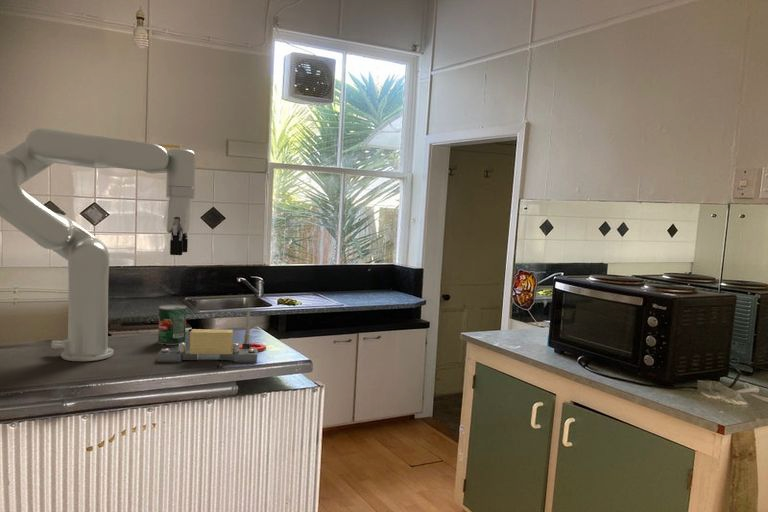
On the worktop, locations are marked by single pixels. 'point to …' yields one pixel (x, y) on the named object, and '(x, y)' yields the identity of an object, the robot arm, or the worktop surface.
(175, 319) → the canned tomato
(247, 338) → the tow hook
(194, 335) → the tan cork brick
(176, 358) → the grey plate with studs
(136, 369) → the worktop surface
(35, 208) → the robot arm
